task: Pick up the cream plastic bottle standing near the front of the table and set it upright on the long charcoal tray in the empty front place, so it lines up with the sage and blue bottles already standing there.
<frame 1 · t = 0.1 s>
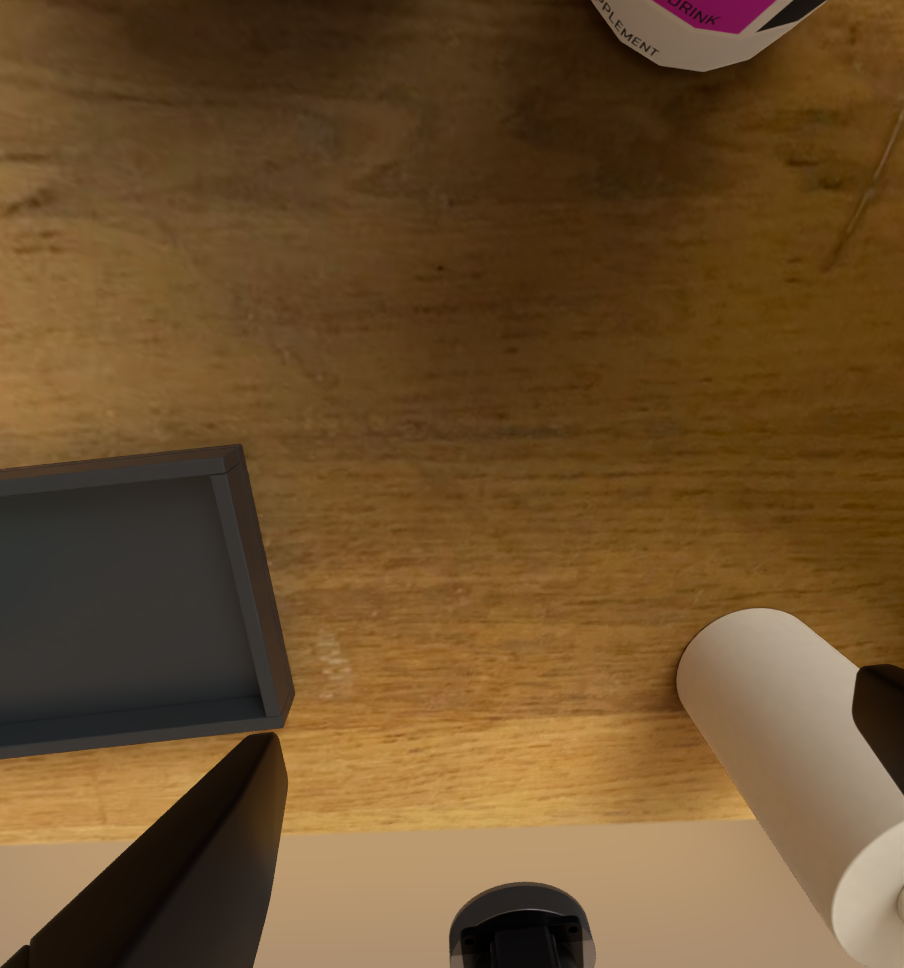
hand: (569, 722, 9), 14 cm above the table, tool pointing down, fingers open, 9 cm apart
cream bottle: (746, 671, 25), on the table
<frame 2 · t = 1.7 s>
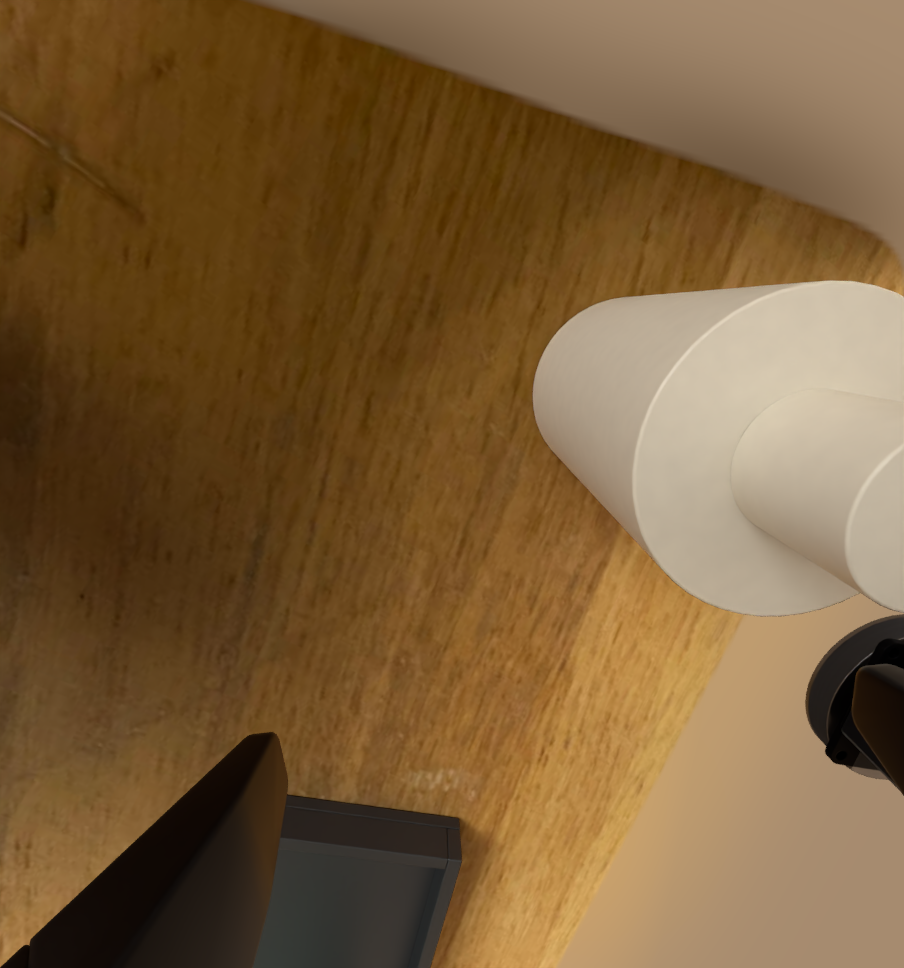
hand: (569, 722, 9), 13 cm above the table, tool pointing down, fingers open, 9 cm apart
cream bottle: (621, 391, 20), on the table
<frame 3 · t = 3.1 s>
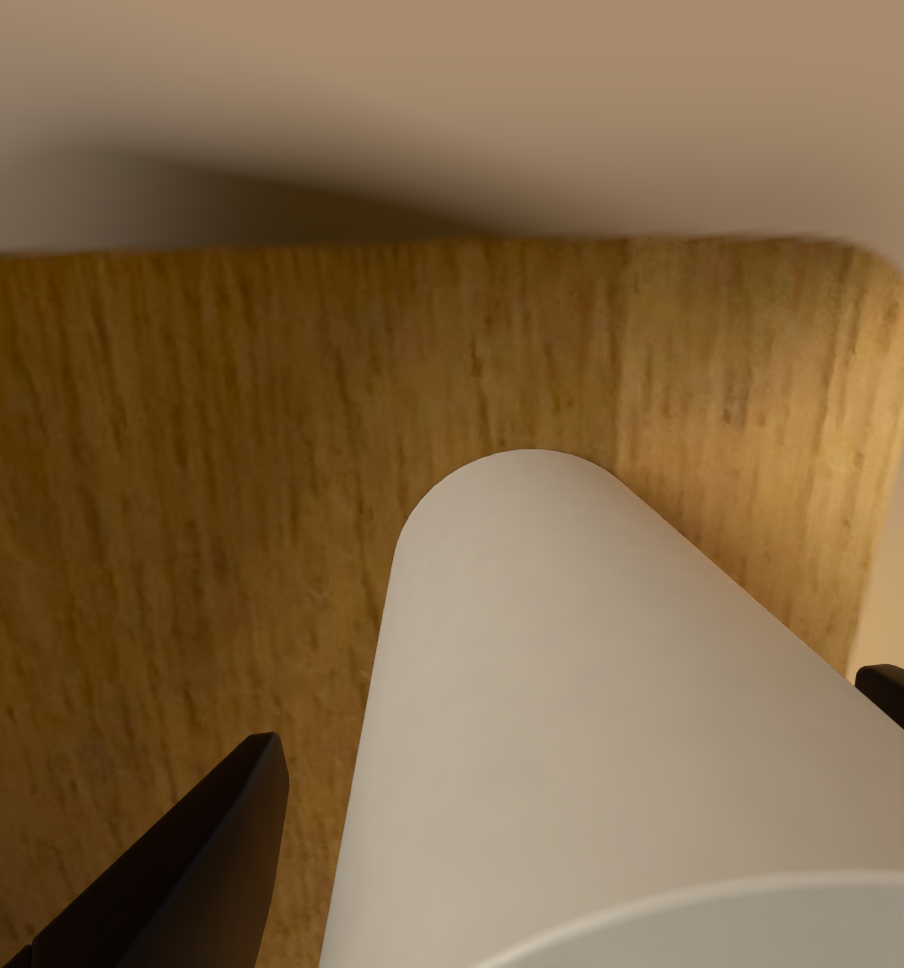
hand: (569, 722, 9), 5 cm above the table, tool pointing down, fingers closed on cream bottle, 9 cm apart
cream bottle: (525, 578, 13), on the table, touching gripper
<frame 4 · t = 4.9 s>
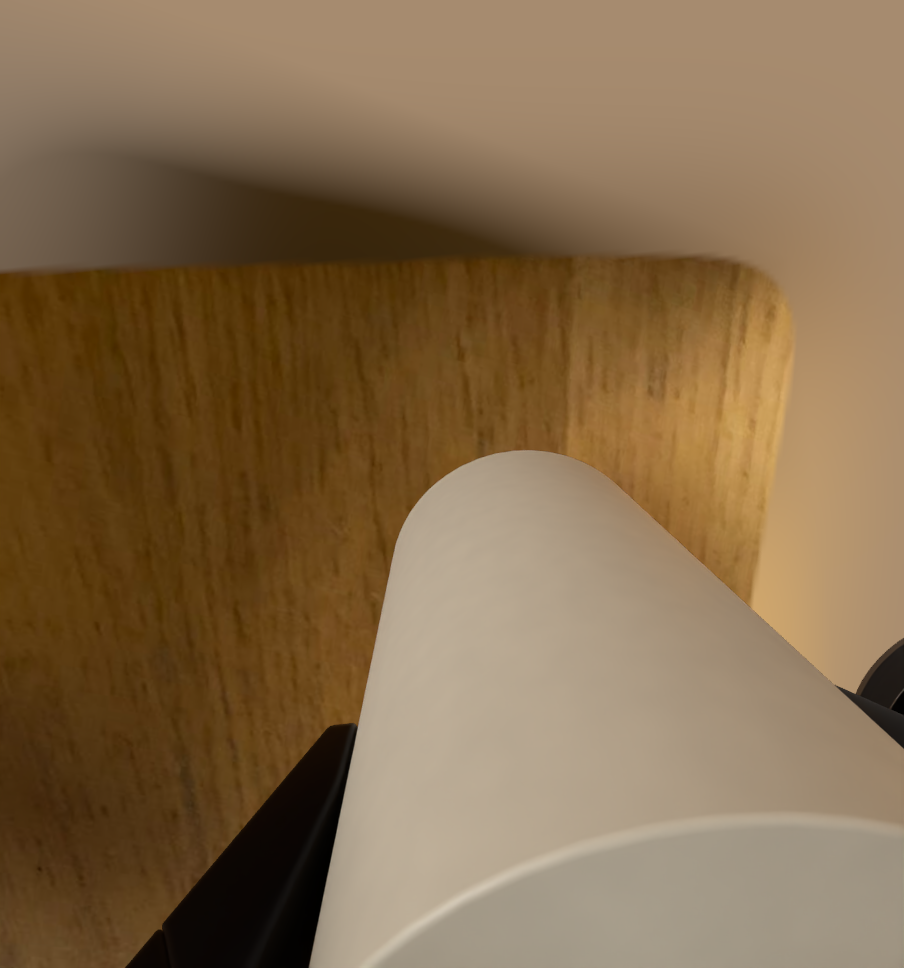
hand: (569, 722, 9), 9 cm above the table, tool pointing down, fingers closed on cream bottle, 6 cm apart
cream bottle: (521, 575, 14), point 4 cm above the table, touching gripper
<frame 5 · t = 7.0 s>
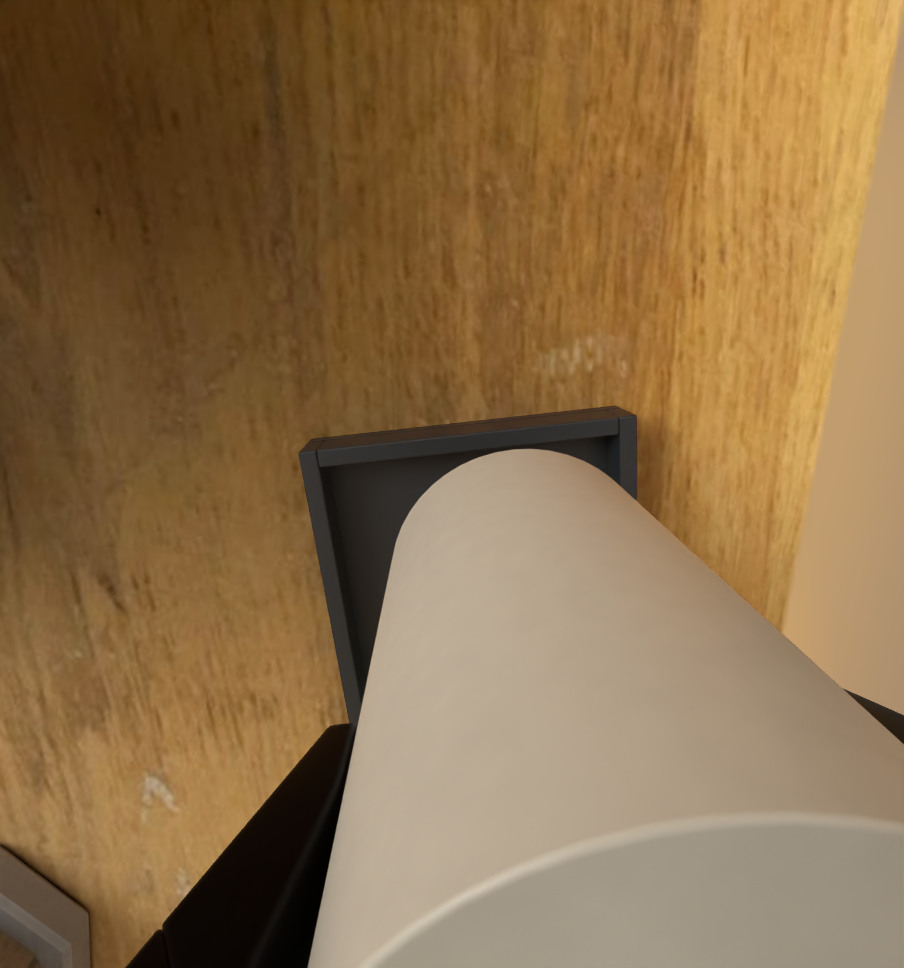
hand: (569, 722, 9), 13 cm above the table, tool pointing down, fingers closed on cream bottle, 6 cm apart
cream bottle: (521, 575, 14), point 8 cm above the table, touching gripper
tray: (497, 766, 25), on the table
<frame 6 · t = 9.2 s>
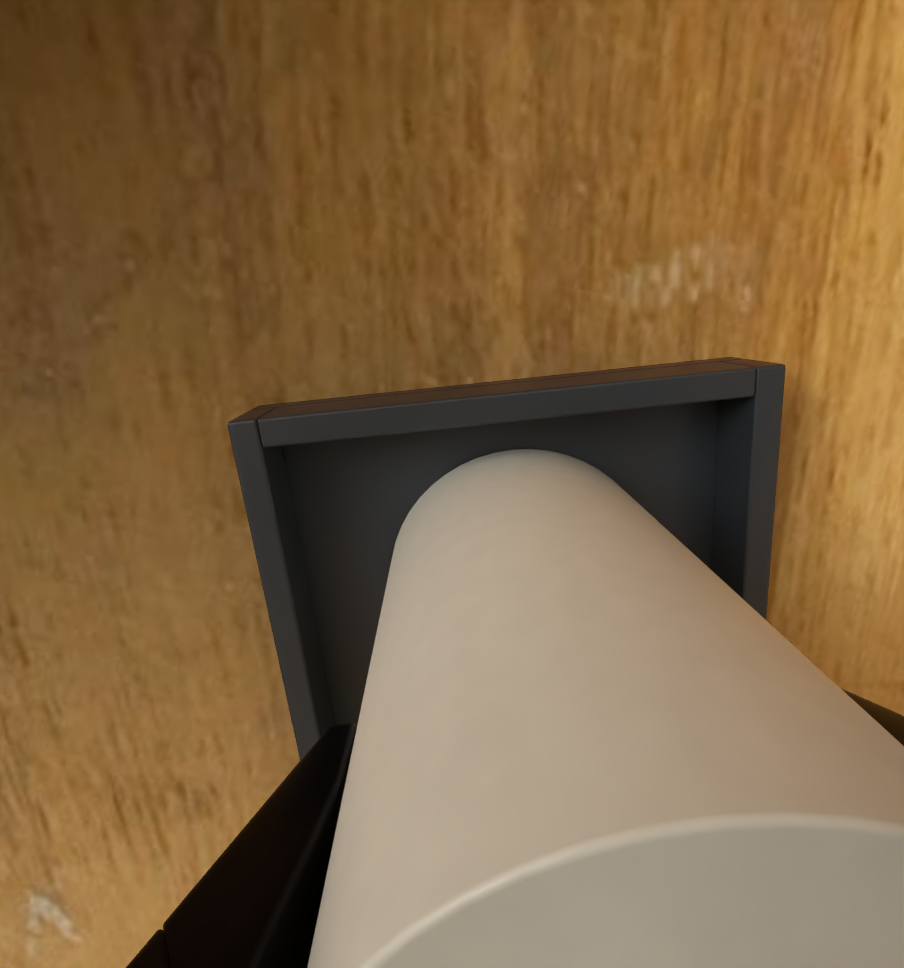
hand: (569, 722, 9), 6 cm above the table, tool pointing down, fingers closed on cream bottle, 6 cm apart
cream bottle: (521, 575, 14), point 1 cm above the table, touching gripper, tray
tray: (532, 878, 18), on the table
when the fingers open (6 cm above the table, at t = 9.5 s): cream bottle stays where it is, resting on tray.
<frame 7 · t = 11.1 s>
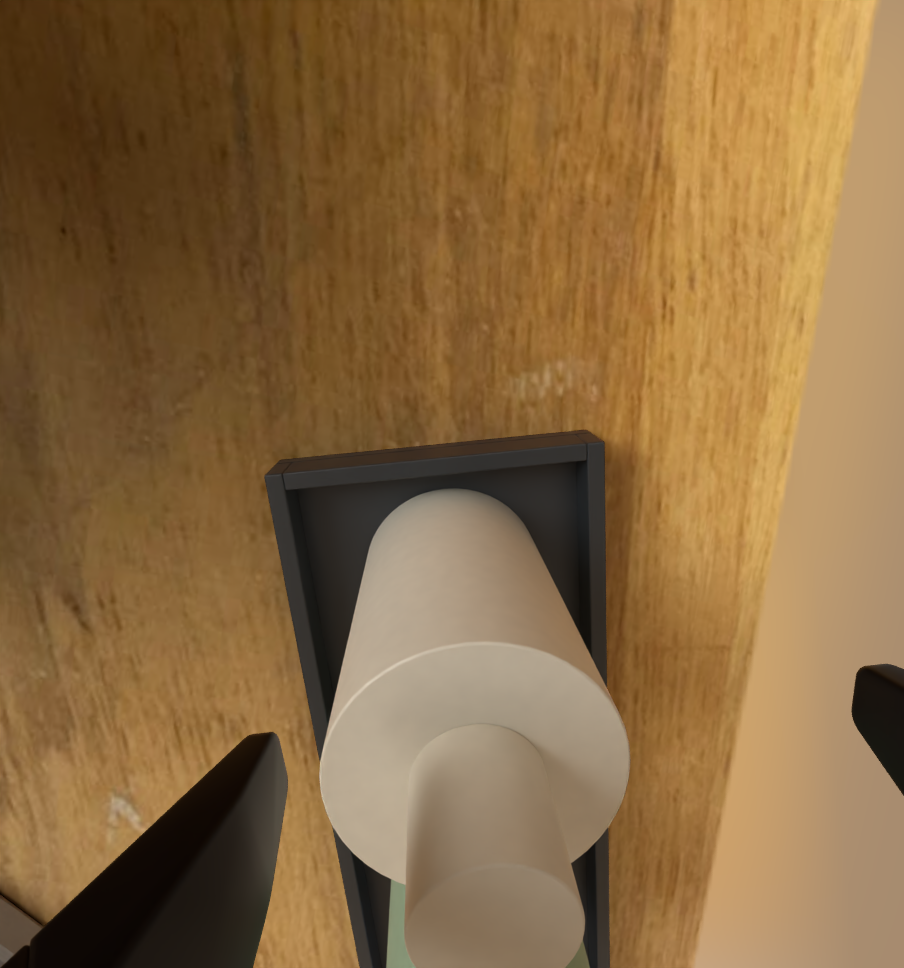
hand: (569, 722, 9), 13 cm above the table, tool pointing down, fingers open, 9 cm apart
sage bottle: (469, 798, 24), point 1 cm above the table, touching tray
cream bottle: (452, 569, 21), point 1 cm above the table, touching tray
tray: (468, 787, 25), on the table
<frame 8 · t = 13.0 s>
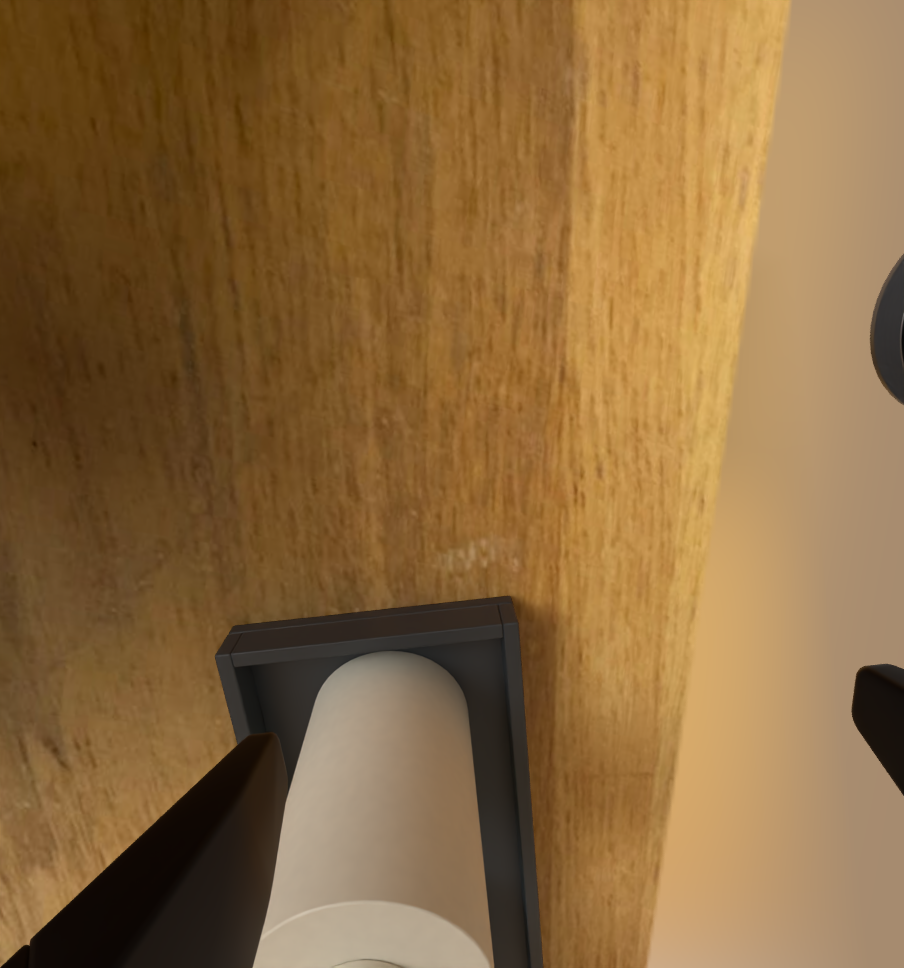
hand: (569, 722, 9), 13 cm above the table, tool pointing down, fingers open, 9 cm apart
cream bottle: (391, 716, 23), point 1 cm above the table, touching tray
tray: (417, 895, 27), on the table
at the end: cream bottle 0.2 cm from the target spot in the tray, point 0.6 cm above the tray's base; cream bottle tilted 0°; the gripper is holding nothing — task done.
